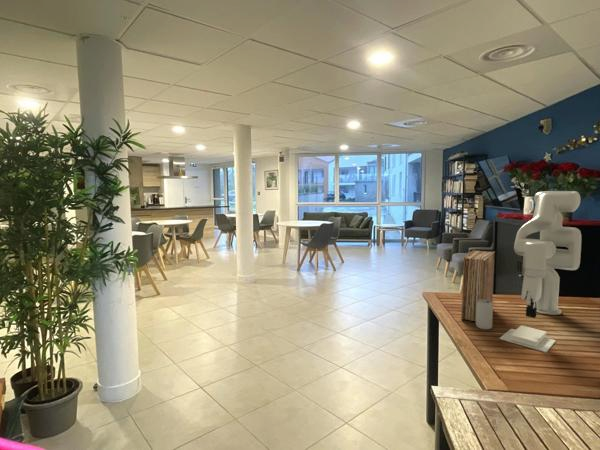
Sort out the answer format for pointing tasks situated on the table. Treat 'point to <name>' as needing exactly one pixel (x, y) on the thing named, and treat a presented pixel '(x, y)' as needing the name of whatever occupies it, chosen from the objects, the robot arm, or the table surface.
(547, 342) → the mat
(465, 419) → the table surface
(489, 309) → the beverage can
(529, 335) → the glazed tile
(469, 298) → the book
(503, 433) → the table surface
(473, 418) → the table surface
